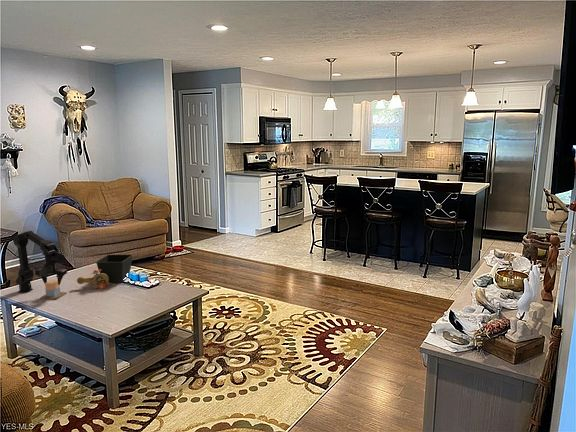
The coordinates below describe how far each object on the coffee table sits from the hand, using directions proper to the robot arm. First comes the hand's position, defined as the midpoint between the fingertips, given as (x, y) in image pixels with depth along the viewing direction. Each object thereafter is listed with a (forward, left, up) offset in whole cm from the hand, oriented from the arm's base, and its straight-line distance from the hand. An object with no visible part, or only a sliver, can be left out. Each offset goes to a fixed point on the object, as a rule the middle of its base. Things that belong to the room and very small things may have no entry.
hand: (52, 284), depth 281 cm
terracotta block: (0, 0, -3) cm, 3 cm away
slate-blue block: (0, 0, -7) cm, 7 cm away
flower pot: (+25, +35, -8) cm, 44 cm away
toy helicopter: (+19, +17, -8) cm, 27 cm away
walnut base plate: (0, 0, -8) cm, 8 cm away
